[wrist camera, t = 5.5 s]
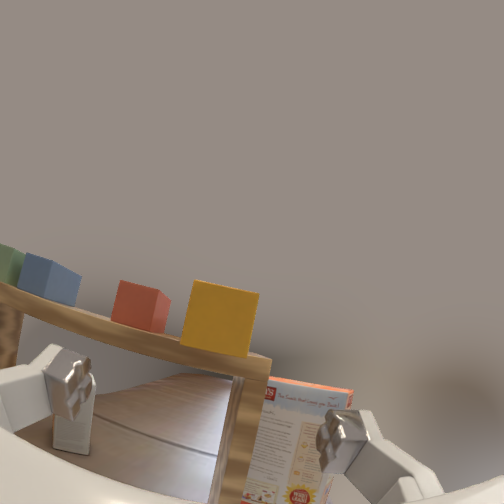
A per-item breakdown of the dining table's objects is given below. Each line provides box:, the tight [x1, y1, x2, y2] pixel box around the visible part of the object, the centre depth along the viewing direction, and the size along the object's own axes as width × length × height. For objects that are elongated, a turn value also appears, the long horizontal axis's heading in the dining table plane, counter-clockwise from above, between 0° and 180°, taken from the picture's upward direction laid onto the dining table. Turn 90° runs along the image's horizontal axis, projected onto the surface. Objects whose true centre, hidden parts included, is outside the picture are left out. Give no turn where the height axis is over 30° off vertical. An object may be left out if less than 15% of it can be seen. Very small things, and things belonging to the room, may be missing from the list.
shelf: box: [0, 281, 272, 504], centre depth 27 cm, size 12×34×24 cm, turn 98°
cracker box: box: [240, 376, 354, 504], centre depth 37 cm, size 14×6×21 cm, turn 64°
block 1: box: [0, 244, 26, 287], centre depth 30 cm, size 8×4×4 cm, turn 7°
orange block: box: [180, 280, 259, 359], centre depth 28 cm, size 20×4×4 cm, turn 8°
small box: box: [52, 373, 96, 455], centre depth 40 cm, size 8×6×13 cm
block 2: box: [17, 253, 82, 307], centre depth 30 cm, size 8×4×4 cm, turn 7°
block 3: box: [110, 280, 171, 333], centre depth 31 cm, size 8×4×4 cm, turn 7°
